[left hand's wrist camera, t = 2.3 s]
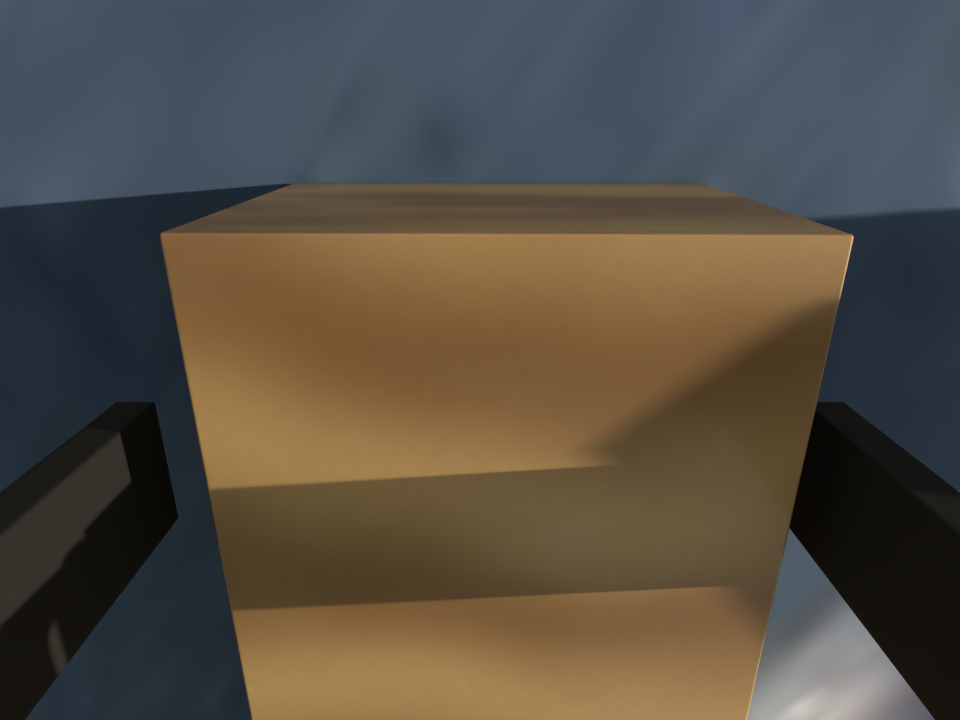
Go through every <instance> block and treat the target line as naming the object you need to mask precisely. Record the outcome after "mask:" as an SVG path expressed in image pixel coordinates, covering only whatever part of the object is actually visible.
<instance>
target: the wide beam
mask: <svg viewBox="0 0 960 720" xmlns="http://www.w3.org/2000/svg"><path fill="white" fill-rule="evenodd" d="M160 239H161V245H162V250H163V255H164V260H165V266H166V271H167V276H168V282H169V287H170V292H171V297H172V303H173V308H174V313H175V318H176V324H177V329H178V334H179V339H180V345H181V350H182V355H183V360H184V366H185V371H186V376H187V381H188V387H189V392H190V397H191V402H192V408H193V413H194V418H195V423H196V429H197V434H198V439H199V445H200V450H201V455H202V460H203V466H204V471H205V476H206V481H207V487H208V492H209V497H210V502H211V508H212V513H213V518H214V523H215V529H216V534H217V539H218V544H219V550H220V555H221V560H222V565H223V571H224V576H225V581H226V586H227V592H228V597H229V602H230V608H231V613H232V618H233V623H234V629H235V634H236V639H237V644H238V650H239V655H240V660H241V665H242V671H243V676H244V681H245V686H246V692H247V697H248V702H249V707H250V713H251V718H252V720H747V716H748V711H749V707H750V702H751V698H752V693H753V689H754V684H755V680H756V675H757V671H758V666H759V662H760V657H761V653H762V648H763V644H764V639H765V635H766V630H767V626H768V621H769V617H770V612H771V608H772V603H773V598H774V594H775V589H776V585H777V580H778V576H779V571H780V567H781V562H782V558H783V553H784V549H785V544H786V540H787V535H788V531H789V526H790V522H791V517H792V513H793V508H794V504H795V499H796V495H797V490H798V486H799V481H800V477H801V472H802V468H803V463H804V459H805V454H806V450H807V445H808V441H809V436H810V432H811V427H812V423H813V418H814V414H815V409H816V405H817V400H818V396H819V391H820V387H821V382H822V378H823V373H824V369H825V364H826V360H827V355H828V351H829V346H830V342H831V337H832V333H833V328H834V324H835V319H836V315H837V310H838V306H839V301H840V297H841V292H842V288H843V283H844V279H845V274H846V270H847V265H848V261H849V256H850V252H851V247H852V243H853V235H851V234H849V233H846V232H843V231H840V230H837V229H834V228H831V227H828V226H826V225H823V224H820V223H817V222H814V221H811V220H808V219H805V218H802V217H799V216H796V215H793V214H791V213H788V212H785V211H782V210H779V209H776V208H773V207H770V206H767V205H764V204H761V203H758V202H755V201H753V200H750V199H747V198H744V197H741V196H738V195H735V194H732V193H729V192H726V191H723V190H720V189H718V188H715V187H712V186H709V185H706V184H532V183H294V184H291V185H289V186H286V187H283V188H280V189H278V190H275V191H272V192H270V193H267V194H264V195H262V196H259V197H256V198H254V199H251V200H248V201H245V202H243V203H240V204H237V205H235V206H232V207H229V208H227V209H224V210H221V211H219V212H216V213H213V214H210V215H208V216H205V217H202V218H200V219H197V220H194V221H192V222H189V223H186V224H184V225H181V226H178V227H175V228H173V229H170V230H167V231H165V232H162V233H160Z"/></svg>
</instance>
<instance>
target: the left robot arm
mask: <svg viewBox="0 0 960 720" xmlns="http://www.w3.org/2000/svg"><path fill="white" fill-rule="evenodd" d="M177 519H178V514H177V509H176V504H175V499H174V494H173V490H172V485H171V480H170V475H169V470H168V465H167V460H166V456H165V451H164V446H163V441H162V436H161V431H160V426H159V422H158V417H157V412H156V407H155V402H116V403H115V404H114V405H113V406H111V407H110V408H109V409H107V410H106V411H105V412H104V413H102V414H101V415H100V416H98V417H97V418H96V419H94V420H93V421H92V422H91V423H89V424H88V425H87V426H85V427H84V428H83V429H82V430H80V431H79V432H78V433H76V434H75V435H74V436H73V437H71V438H70V439H69V440H67V441H66V442H65V443H64V444H62V445H61V446H60V447H58V448H57V449H56V450H55V451H53V452H52V453H51V454H49V455H48V456H47V457H46V458H44V459H43V460H42V461H40V462H39V463H38V464H37V465H35V466H34V467H33V468H31V469H30V470H29V471H27V472H26V473H25V474H24V475H22V476H21V477H20V478H18V479H17V480H16V481H15V482H13V483H12V484H11V485H9V486H8V487H7V488H6V489H4V490H3V491H2V492H0V720H25V719H26V717H27V716H28V715H29V714H30V712H31V711H32V710H33V708H34V707H35V706H36V704H37V703H38V702H39V700H40V699H41V698H42V696H43V695H44V694H45V692H46V691H47V690H48V689H49V687H50V686H51V685H52V683H53V682H54V681H55V679H56V678H57V677H58V675H59V674H60V673H61V671H62V670H63V669H64V667H65V666H66V665H67V663H68V662H69V661H70V660H71V658H72V657H73V656H74V654H75V653H76V652H77V650H78V649H79V648H80V646H81V645H82V644H83V642H84V641H85V640H86V638H87V637H88V636H89V635H90V633H91V632H92V631H93V629H94V628H95V627H96V625H97V624H98V623H99V621H100V620H101V619H102V617H103V616H104V615H105V613H106V612H107V611H108V609H109V608H110V607H111V606H112V604H113V603H114V602H115V600H116V599H117V598H118V596H119V595H120V594H121V592H122V591H123V590H124V588H125V587H126V586H127V584H128V583H129V582H130V581H131V579H132V578H133V577H134V575H135V574H136V573H137V571H138V570H139V569H140V567H141V566H142V565H143V563H144V562H145V561H146V559H147V558H148V557H149V555H150V554H151V553H152V552H153V550H154V549H155V548H156V546H157V545H158V544H159V542H160V541H161V540H162V538H163V537H164V536H165V534H166V533H167V532H168V530H169V529H170V528H171V527H172V525H173V524H174V523H175V521H176V520H177ZM789 528H790V529H791V530H792V532H793V533H794V534H795V536H796V537H797V538H798V540H799V541H800V542H801V544H802V545H803V546H804V548H805V549H806V550H807V552H808V553H809V554H810V555H811V557H812V558H813V559H814V561H815V562H816V563H817V565H818V566H819V567H820V569H821V570H822V571H823V573H824V574H825V575H826V577H827V578H828V579H829V581H830V582H831V583H832V584H833V586H834V587H835V588H836V590H837V591H838V592H839V594H840V595H841V596H842V598H843V599H844V600H845V602H846V603H847V604H848V606H849V607H850V608H851V609H852V611H853V612H854V613H855V615H856V616H857V617H858V619H859V620H860V621H861V623H862V624H863V625H864V627H865V628H866V629H867V631H868V632H869V633H870V635H871V636H872V637H873V638H874V640H875V641H876V642H877V644H878V645H879V646H880V648H881V649H882V650H883V652H884V653H885V654H886V656H887V657H888V658H889V660H890V661H891V662H892V663H893V665H894V666H895V667H896V669H897V670H898V671H899V673H900V674H901V675H902V677H903V678H904V679H905V681H906V682H907V683H908V685H909V686H910V687H911V689H912V690H913V691H914V692H915V694H916V695H917V696H918V698H919V699H920V700H921V702H922V703H923V704H924V706H925V707H926V708H927V710H928V711H929V712H930V714H931V715H932V716H933V717H934V719H935V720H960V492H958V491H957V490H956V489H954V488H953V487H952V486H951V485H949V484H948V483H947V482H945V481H944V480H943V479H942V478H940V477H939V476H938V475H936V474H935V473H934V472H932V471H931V470H930V469H929V468H927V467H926V466H925V465H923V464H922V463H921V462H920V461H918V460H917V459H916V458H914V457H913V456H912V455H911V454H909V453H908V452H907V451H905V450H904V449H903V448H902V447H900V446H899V445H898V444H896V443H895V442H894V441H893V440H891V439H890V438H889V437H887V436H886V435H885V434H884V433H882V432H881V431H880V430H878V429H877V428H876V427H875V426H873V425H872V424H871V423H869V422H868V421H867V420H866V419H864V418H863V417H862V416H860V415H859V414H858V413H856V412H855V411H854V410H853V409H851V408H850V407H849V406H847V405H846V404H845V403H844V402H817V405H816V409H815V414H814V418H813V423H812V427H811V432H810V436H809V441H808V445H807V450H806V454H805V459H804V463H803V468H802V472H801V477H800V481H799V486H798V490H797V495H796V499H795V504H794V508H793V513H792V517H791V522H790V526H789Z"/></svg>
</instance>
